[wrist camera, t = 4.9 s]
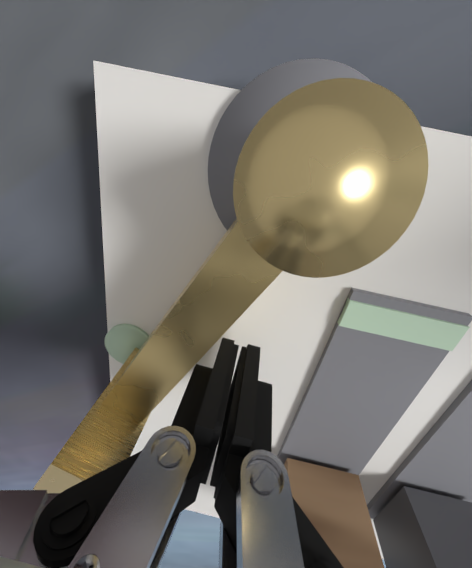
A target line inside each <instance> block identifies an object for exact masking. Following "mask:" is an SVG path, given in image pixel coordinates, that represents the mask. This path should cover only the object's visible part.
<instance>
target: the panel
mask: <svg viewBox="0 0 472 568" xmlns="http://www.w3.org/2000/svg"><path fill="white" fill-rule="evenodd" d="M93 63H94V82H95V101H96V120H97V139H98V158H99V177H100V196H101V215H102V234H103V253H104V272H105V291H106V310H107V329H108V333H107V334H106V336H105V347H106V349H107V351H108V353H109V367H110V382H111V381H112V379H113V378H114V376H115V375H116V374H117V372H118V371H119V370H120V368H121V367H122V365H123V364H124V363H125V361H126V360H127V358H128V357H129V356H130V354H131V353H132V352H133V350H134V349H135V347H136V348H138V349H140V348H141V347H142V345H143V344H144V343H145V341H146V340H147V338H148V337H149V336H150V334H151V333H152V332H153V330H154V329H155V328H156V326H157V325H158V324H159V322H160V321H161V320H162V318H163V317H164V315H165V314H166V313H167V311H168V310H169V309H170V307H171V306H172V305H173V303H174V302H175V301H176V299H177V298H178V297H179V295H180V294H181V293H182V291H183V290H184V288H185V287H186V286H187V284H188V283H189V282H190V280H191V279H192V278H193V276H194V275H195V274H196V272H197V271H198V270H199V268H200V267H201V265H202V264H203V263H204V261H205V260H206V259H207V257H208V256H209V255H210V253H211V252H212V251H213V249H214V248H215V247H216V245H217V244H218V243H219V241H220V240H221V238H222V237H223V236H224V234H225V233H226V232H227V230H228V229H229V228H230V226H231V225H232V224H233V222H234V221H235V220H236V213H235V208H234V200H233V181H234V175H235V169H236V165H237V162H238V158H239V155H240V153H241V150H242V148H243V146H244V143H245V141H246V140H247V138H248V136H249V134H250V133H251V131H252V130H253V128H254V127H255V125H256V124H257V123H258V121H259V120H260V119H261V118H262V117H263V116H264V115H265V114H266V112H267V111H268V110H269V109H270V108H271V107H273V106H274V105H275V104H276V103H278V102H279V101H280V100H281V99H282V98H284V97H286V96H287V95H289V94H290V93H292V92H294V91H295V90H297V89H300V88H302V87H304V86H306V85H309V84H312V83H315V82H318V81H322V80H327V79H335V78H355V79H360V80H366V81H370V80H369V79H368V78H367V77H365V76H364V75H363V74H361V73H360V72H358V71H357V70H355V69H353V68H351V67H349V66H347V65H345V64H342V63H339V62H335V61H332V60H326V59H317V58H312V59H299V60H295V61H290V62H286V63H283V64H281V65H278V66H276V67H273V68H271V69H269V70H267V71H266V72H264V73H262V74H260V75H259V76H257V77H256V78H255V79H254V80H252V81H251V82H250V83H248V84H247V85H246V86H245V87H244V88H243V89H242V90H237V89H232V88H227V87H222V86H217V85H212V84H207V83H202V82H197V81H192V80H187V79H182V78H177V77H172V76H167V75H162V74H157V73H152V72H147V71H142V70H137V69H132V68H127V67H122V66H117V65H112V64H107V63H102V62H97V61H93ZM370 82H371V81H370ZM421 129H422V131H423V134H424V137H425V140H426V145H427V150H428V164H429V166H428V178H427V184H426V188H425V193H424V196H423V199H422V201H421V204H420V207H419V209H418V211H417V213H416V215H415V217H414V219H413V220H412V222H411V224H410V225H409V227H408V228H407V230H406V231H405V232H404V233H403V235H402V236H401V237H400V238H399V240H398V241H397V242H396V243H395V244H394V245H393V246H392V247H391V248H390V249H389V250H387V251H386V252H385V253H384V254H382V255H381V256H380V257H378V258H377V259H375V260H374V261H372V262H371V263H369V264H367V265H365V266H363V267H361V268H359V269H357V270H354V271H351V272H349V273H346V274H342V275H338V276H332V277H324V278H312V277H302V276H298V275H293V274H290V273H287V272H284V271H282V272H281V273H280V274H279V275H278V276H277V278H276V279H275V280H274V281H273V282H272V283H271V284H270V285H269V286H268V287H267V288H266V289H265V290H264V291H263V293H262V294H261V295H260V296H259V297H258V298H257V299H256V300H255V301H254V302H253V303H252V304H251V305H250V306H249V308H248V309H247V310H246V311H245V312H244V313H243V314H242V315H241V316H240V317H239V318H238V319H237V320H236V321H235V323H234V324H233V325H232V326H231V327H230V328H229V329H228V330H227V331H226V332H225V333H224V334H223V335H222V336H221V338H220V339H219V340H218V341H217V342H216V343H215V344H214V345H213V346H212V347H211V348H210V349H209V350H208V351H207V353H206V354H205V355H204V356H203V357H202V358H201V359H200V360H199V361H198V362H197V363H196V364H198V365H202V366H206V367H209V368H213V366H214V363H215V360H216V357H217V353H218V350H219V347H220V344H221V340H222V337H223V338H227V339H231V340H235V342H234V344H236V345H239V348H238V353H237V357H236V362H235V367H234V372H235V369H236V365H237V362H238V358H239V355H240V351H241V348H242V346H244V347H247V345H248V344H250V345H254V346H258V347H260V348H261V349H260V362H259V374H258V381H262V382H266V383H269V384H272V452H271V453H273V454H274V455H276V456H277V457H278V458H279V459H280V460H281V461H282V463H283V464H285V461H286V459H287V458H290V459H294V460H298V461H303V462H307V463H311V464H315V465H319V466H323V467H327V468H331V469H336V470H340V471H344V472H348V473H352V474H356V475H359V479H360V482H361V486H362V489H363V493H364V497H365V500H366V504H367V507H368V511H369V515H370V518H371V522H372V526H373V529H374V533H375V536H376V540H377V544H378V547H379V551H380V555H381V558H382V559H384V557H383V554H382V550H381V547H380V543H379V539H378V536H377V532H376V529H375V525H374V522H373V519H374V518H375V517H376V516H377V515H378V514H379V513H380V512H381V511H382V509H383V508H384V507H385V506H386V505H387V504H388V503H389V502H390V501H391V500H392V498H393V497H394V496H395V495H396V494H397V493H398V492H399V491H400V490H401V489H402V487H403V486H406V487H410V488H414V489H418V490H422V491H426V492H430V493H434V494H439V495H443V496H447V497H451V498H455V499H459V500H463V501H467V502H472V137H471V136H466V135H461V134H456V133H451V132H446V131H442V130H437V129H432V128H427V127H422V126H421ZM196 364H195V365H196ZM195 365H194V366H193V368H192V369H191V370H190V371H189V372H188V373H187V374H186V375H185V376H184V377H183V378H182V379H181V380H180V381H179V383H178V384H177V385H176V386H175V387H174V388H173V389H172V390H171V391H170V392H169V393H168V394H167V395H166V396H165V398H164V399H163V400H162V401H161V402H160V403H159V404H158V405H157V406H156V407H155V408H154V409H153V410H152V411H151V413H150V415H149V417H148V419H147V422H146V424H145V426H144V428H143V430H142V432H141V434H140V436H139V438H138V440H137V443H136V445H135V447H134V449H133V451H132V453H131V455H130V456H132V455H134V454H136V453H138V452H140V451H142V450H143V448H144V447H145V445H146V444H147V442H148V441H149V439H150V438H151V437H152V435H153V434H154V433H155V432H157V431H158V430H160V429H161V428H164V427H167V426H171V425H172V422H173V420H174V417H175V415H176V412H177V410H178V407H179V405H180V402H181V400H182V397H183V395H184V392H185V390H186V387H187V385H188V382H189V380H190V377H191V375H192V372H193V370H194V367H195ZM234 372H233V376H234ZM232 379H233V377H232ZM231 383H232V382H231ZM218 442H219V441H218ZM217 447H218V445H217ZM216 452H217V448H216V451H215V455H214V458H213V462H212V465H211V468H210V472H209V475H208V479H207V482H206V485H205V484H202V483H200V487H199V490H198V494H197V497H196V501H195V502H194V503H192V504H191V505H190V506H188V507H187V508H185V509H186V510H190V511H194V512H198V513H202V514H206V515H210V516H214V517H218V518H220V517H219V515H218V513H217V511H216V509H215V507H214V503H215V498H213V497H214V492H215V487H213V486H210V481H211V476H212V472H213V467H214V462H215V457H216Z"/></svg>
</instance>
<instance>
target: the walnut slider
mask: <svg viewBox="0 0 472 568" xmlns="http://www.w3.org/2000/svg"><path fill="white" fill-rule="evenodd" d="M284 466H285V468H286V470H287V473H288V477H289V481H290V487H291V493H292V497H293V498H294V499H295V501H296V502H297V504H298V505H299V506H300V508H301V509H302V511H303V512H304V513H305V515H306V516H307V517H308V519H309V520H310V522H311V523H312V524H313V526H314V527H315V529H316V530H317V531H318V533H319V534H320V535H321V537H322V538H323V540H324V541H325V542H326V544H327V545H328V547H329V548H330V549H331V551H332V552H333V554H334V555H335V556H336V558H337V559H338V560H339V562H340V563H341V565H342V566H343V567H344V568H384V565H383V562H382V558H381V555H380V551H379V547H378V544H377V540H376V536H375V533H374V529H373V526H372V522H371V518H370V515H369V511H368V507H367V504H366V500H365V497H364V493H363V489H362V486H361V482H360V479H359V475H356V474H352V473H348V472H344V471H340V470H336V469H331V468H327V467H323V466H319V465H315V464H311V463H307V462H303V461H298V460H294V459H290V458H287V459H286V461H285V464H284Z"/></svg>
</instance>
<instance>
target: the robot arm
mask: <svg viewBox="0 0 472 568" xmlns="http://www.w3.org/2000/svg"><path fill="white" fill-rule="evenodd" d="M234 342H235V340H231V339H227V338H223V337H222V340H221V344H220V347H219V350H218V353H217V357H216V360H215V363H214V366H213V368H209V367H206V366H202V365H198V364H196V365H195V367H194V370H193V372H192V375H191V377H190V380H189V382H188V385H187V387H186V390H185V392H184V395H183V397H182V400H181V402H180V405H179V407H178V410H177V412H176V415H175V417H174V420H173V422H172V425H171V426H167V427H164V428H161V429H160V430H158V431H157V432H155V433H154V434H153V435H152V437H151V438H150V439H149V441H148V442H147V444H146V445H145V447H144V448H143V450H142V451H140V452H138V453H136V454H134V455H132V456H130V457H128V458H126V459H124V460H122V461H121V462H119V463H117V464H115V465H113V466H111V467H109V468H107V469H105V470H103V471H101V472H99V473H97V474H95V475H93V476H91V477H89V478H87V479H85V480H84V481H82V482H80V483H78V484H76V485H74V486H72V487H70V488H68V489H66V490H64V491H63V492H61V493H47V490H0V568H159V567H160V564H161V562H162V559H163V557H164V554H165V552H166V549H167V547H168V544H169V542H170V539H171V537H172V534H173V532H174V530H175V527H176V525H177V522H178V520H179V517H180V515H181V511H183V510H184V509H185V508H187V507H188V506H190V505H191V504H192V503H194V502H195V501H196V497H197V494H198V490H199V487H200V483H202V484H205V485H206V482H207V479H208V475H209V472H210V468H211V465H212V462H213V458H214V455H215V451H216V448H217V452H216V457H215V462H214V467H213V472H212V476H211V481H210V486H213V487H215V492H214V497H213V498H215V503H214V507H215V509H216V511H217V513H218V515H219V517H220V519H221V522H220V541H219V568H344V567H343V566H342V565H341V563H340V562H339V560H338V559H337V558H336V556H335V555H334V554H333V552H332V551H331V549H330V548H329V547H328V545H327V544H326V542H325V541H324V540H323V538H322V537H321V535H320V534H319V533H318V531H317V530H316V529H315V527H314V526H313V524H312V523H311V522H310V520H309V519H308V517H307V516H306V515H305V513H304V512H303V511H302V509H301V508H300V506H299V505H298V504H297V502H296V501H295V499H294V498H293V497H292V493H291V487H290V481H289V477H288V473H287V470H286V468H285V466H284V464H283V463H282V461H281V460H280V459H279V458H278V457H277V456H276V455H274V454H273V453H271V452H272V384H269V383H266V382H262V381H258V374H259V362H260V349H261V348H260V347H258V346H254V345H250V344H248V345H247V347H244V346H242V348H241V351H240V355H239V358H238V362H237V365H236V369H235V372H234V367H235V362H236V357H237V353H238V348H239V345H236V344H234ZM233 372H234V376H233ZM232 377H233V379H232ZM231 382H232V383H231ZM218 441H219V442H218ZM217 445H218V447H217Z"/></svg>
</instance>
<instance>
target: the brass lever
mask: <svg viewBox="0 0 472 568" xmlns="http://www.w3.org/2000/svg"><path fill="white" fill-rule="evenodd" d="M428 166H429V164H428V150H427V145H426V140H425V137H424V134H423V131H422V129H421V126H420V124H419V122H418V120H417V119H416V117H415V115H414V113H413V112H412V111H411V110H410V108H409V107H408V106H407V105H406V104H405V102H404V101H402V100H401V99H400V98H399V97H398V96H397V95H395V94H394V93H393V92H391V91H389V90H388V89H386V88H384V87H383V86H380V85H378V84H375V83H372V82H370V81H366V80H360V79H355V78H335V79H327V80H322V81H318V82H315V83H312V84H309V85H306V86H304V87H302V88H300V89H297V90H295V91H294V92H292V93H290V94H289V95H287V96H286V97H284V98H282V99H281V100H280V101H279V102H278V103H276V104H275V105H274V106H273V107H271V108H270V109H269V110H268V111H267V112H266V114H265V115H264V116H263V117H262V118H261V119H260V120H259V121H258V123H257V124H256V125H255V127H254V128H253V130H252V131H251V133H250V134H249V136H248V138H247V140H246V141H245V143H244V146H243V148H242V150H241V153H240V155H239V158H238V162H237V165H236V169H235V175H234V181H233V200H234V208H235V213H236V220H235V221H234V222H233V224H232V225H231V226H230V228H229V229H228V230H227V232H226V233H225V234H224V236H223V237H222V238H221V240H220V241H219V243H218V244H217V245H216V247H215V248H214V249H213V251H212V252H211V253H210V255H209V256H208V257H207V259H206V260H205V261H204V263H203V264H202V265H201V267H200V268H199V270H198V271H197V272H196V274H195V275H194V276H193V278H192V279H191V280H190V282H189V283H188V284H187V286H186V287H185V288H184V290H183V291H182V293H181V294H180V295H179V297H178V298H177V299H176V301H175V302H174V303H173V305H172V306H171V307H170V309H169V310H168V311H167V313H166V314H165V315H164V317H163V318H162V320H161V321H160V322H159V324H158V325H157V326H156V328H155V329H154V330H153V332H152V333H151V334H150V336H149V337H148V338H147V340H146V341H145V343H144V344H143V345H142V347H141V348H140V349H138V348H136V347H135V349H134V350H133V352H132V353H131V354H130V356H129V357H128V358H127V360H126V361H125V363H124V364H123V365H122V367H121V368H120V370H119V371H118V372H117V374H116V375H115V376H114V378H113V379H112V381H111V382H110V383H109V385H108V386H107V387H106V389H105V390H104V392H103V393H102V394H101V396H100V397H99V398H98V400H97V401H96V403H95V404H94V405H93V407H92V408H91V410H90V411H89V412H88V414H87V415H86V416H85V418H84V419H83V421H82V422H81V423H80V425H79V426H78V427H77V429H76V430H75V432H74V433H73V434H72V436H71V437H70V438H69V440H68V441H67V443H66V444H65V445H64V447H63V448H62V450H61V451H60V452H59V454H58V455H57V456H56V458H55V459H54V461H53V462H52V463H51V465H50V466H49V467H48V469H47V470H46V472H45V473H44V474H43V476H42V477H41V478H40V480H39V481H38V483H37V484H36V485H35V487H34V488H33V489H34V490H47V493H61V492H63V491H64V490H66V489H68V488H70V487H72V486H74V485H76V484H78V483H80V482H82V481H84V480H85V479H87V478H89V477H91V476H93V475H95V474H97V473H99V472H101V471H103V470H105V469H107V468H109V467H111V466H113V465H115V464H117V463H119V462H121V461H122V460H124V459H126V458H128V457H130V455H131V453H132V451H133V449H134V447H135V445H136V443H137V440H138V438H139V436H140V434H141V432H142V430H143V428H144V426H145V424H146V422H147V419H148V417H149V415H150V413H151V411H152V410H153V409H154V408H155V407H156V406H157V405H158V404H159V403H160V402H161V401H162V400H163V399H164V398H165V396H166V395H167V394H168V393H169V392H170V391H171V390H172V389H173V388H174V387H175V386H176V385H177V384H178V383H179V381H180V380H181V379H182V378H183V377H184V376H185V375H186V374H187V373H188V372H189V371H190V370H191V369H192V368H193V366H194V365H195V364H196V363H197V362H198V361H199V360H200V359H201V358H202V357H203V356H204V355H205V354H206V353H207V351H208V350H209V349H210V348H211V347H212V346H213V345H214V344H215V343H216V342H217V341H218V340H219V339H220V338H221V336H222V335H223V334H224V333H225V332H226V331H227V330H228V329H229V328H230V327H231V326H232V325H233V324H234V323H235V321H236V320H237V319H238V318H239V317H240V316H241V315H242V314H243V313H244V312H245V311H246V310H247V309H248V308H249V306H250V305H251V304H252V303H253V302H254V301H255V300H256V299H257V298H258V297H259V296H260V295H261V294H262V293H263V291H264V290H265V289H266V288H267V287H268V286H269V285H270V284H271V283H272V282H273V281H274V280H275V279H276V278H277V276H278V275H279V274H280V273H281V272H282V271H284V272H287V273H290V274H293V275H298V276H302V277H312V278H324V277H332V276H338V275H342V274H346V273H349V272H351V271H354V270H357V269H359V268H361V267H363V266H365V265H367V264H369V263H371V262H372V261H374V260H375V259H377V258H378V257H380V256H381V255H382V254H384V253H385V252H386V251H387V250H389V249H390V248H391V247H392V246H393V245H394V244H395V243H396V242H397V241H398V240H399V238H400V237H401V236H402V235H403V233H404V232H405V231H406V230H407V228H408V227H409V225H410V224H411V222H412V220H413V219H414V217H415V215H416V213H417V211H418V209H419V207H420V204H421V201H422V199H423V196H424V193H425V188H426V184H427V178H428Z"/></svg>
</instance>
